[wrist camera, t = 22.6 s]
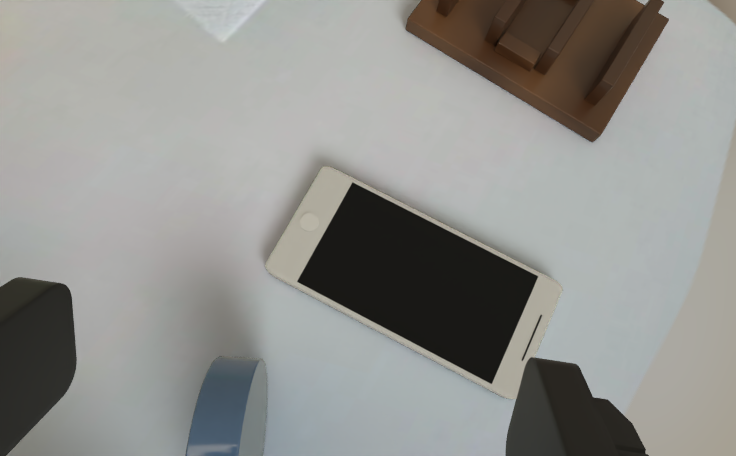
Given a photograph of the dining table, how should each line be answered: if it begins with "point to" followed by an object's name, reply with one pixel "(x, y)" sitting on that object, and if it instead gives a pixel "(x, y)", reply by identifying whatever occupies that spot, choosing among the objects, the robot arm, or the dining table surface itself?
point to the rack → (548, 50)
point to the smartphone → (416, 281)
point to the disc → (230, 409)
